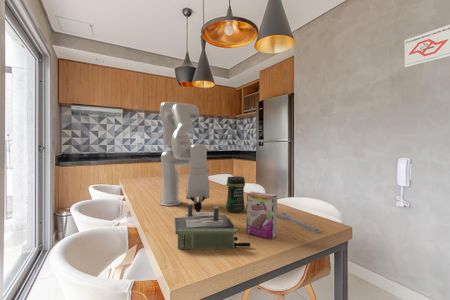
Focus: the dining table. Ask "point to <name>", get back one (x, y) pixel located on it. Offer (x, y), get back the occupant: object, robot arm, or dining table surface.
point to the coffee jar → (235, 194)
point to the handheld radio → (208, 239)
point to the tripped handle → (190, 209)
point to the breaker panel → (202, 222)
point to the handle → (216, 213)
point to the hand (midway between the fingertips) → (197, 211)
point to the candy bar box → (261, 214)
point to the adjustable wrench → (299, 222)
